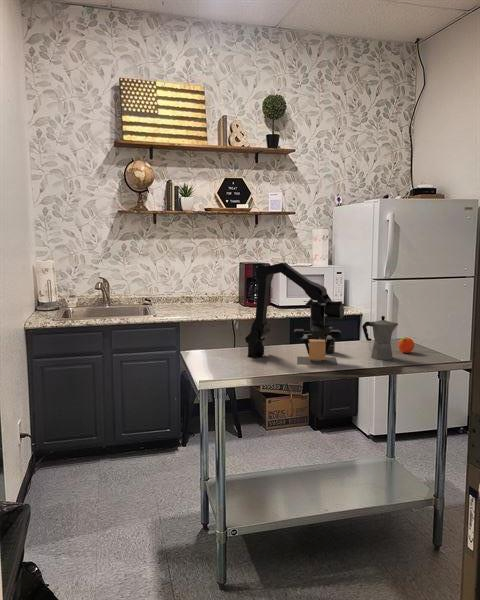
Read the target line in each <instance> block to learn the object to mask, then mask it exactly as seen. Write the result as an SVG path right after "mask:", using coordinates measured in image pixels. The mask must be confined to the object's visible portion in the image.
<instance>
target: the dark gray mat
mask: <svg viewBox="0 0 480 600" xmlns="http://www.w3.org/2000/svg"><path fill="white" fill-rule="evenodd" d="M296 364H297V365H307V366H309V365H310V366H311V365H313V366H314V365H315V366H339V364H338V361H337V358H336V357H334V356H333V357H332V356H325V360H321V362H313V360H309V356H299V355H298V356H297V357H296Z"/></svg>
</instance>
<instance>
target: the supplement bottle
mask: <svg viewBox="0 0 480 600" xmlns="http://www.w3.org/2000/svg"><path fill="white" fill-rule="evenodd" d="M330 330H334V327H333V326H332V327H331V326H329V332H330ZM326 337H327V336H324V338H318V340H325V342H326ZM335 345H336V339H334V341H331V343H330V345H329V347H328V350H327V353H326V355H331V354H335V351H336V350H335V349H336V347H335Z"/></svg>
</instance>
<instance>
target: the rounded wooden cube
mask: <svg viewBox="0 0 480 600" xmlns="http://www.w3.org/2000/svg"><path fill="white" fill-rule="evenodd" d="M308 344H309V355H308V357H309V360H325V357H326V355H325V348H326V342H325V340H319V339H316V338H312V339H308Z"/></svg>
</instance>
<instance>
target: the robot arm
mask: <svg viewBox="0 0 480 600" xmlns="http://www.w3.org/2000/svg"><path fill="white" fill-rule="evenodd" d="M275 274H282V275H283V276H285V277H286V278H288V279H289V280H291V281H292V282H293V283H294V284H296V285H297V286H298V287H300V288H301V289H302V290H303V291H304V293H305V294H306V295H307V297H309V300H308V301H307V302H306V303H305V305H306V306H310V319H309V320H310V321H309V322H310V325H309V326H310V327H309V331H308V330H305V329H304V328H294V330H293V337H294V339H300V340H301V341H302V342H303V343H304V345H305V348H306V351H307V355H308V356H309V339H308V338H309V337H312V339H316V338H318V339H319V338H324V336H327V337H326V348H325V356H326V355H327V354H326V353H327V350H328V347H329V345H330V343H331V341H334V339H335V340H337V339H338V340H340V339H342V332H341V331H340V329H333V330H330V332H329V327H330V325H326V324H325V322H326V320H325V319H326V317H327V318H328V319H344V315H345V307H344V305H343V301H341V300H340V301H339V300H338V301H335V300H332V299H331V297H330V295H329V294H328V291H327V288H326V286H324V285H322V284H320V283H318V282H315V281H312V280H310V279H308V278H307V277H306V276H304V275H303V274H301V273H300V272H298V270H296V269H294V268H293V267H292V266H291V265H289V264H288V263H287V262H278V263H275V264H272V265H271V264H267V263H266V264H259V265H258V266H257V267H256V268H255V280H256V284H257V295H256V306H255V307H256V308H255V317H254V319H253V322H252V324H251V328H250V331H249V332H250V333H248V335H247V336H245V339H244V340H245V342H246V344H247V357H248V358H263V356H264V355H265V344H264V342H265V340H266V337H267V336H269V333H271V325H272V324H271V322H268V320H267V316H268V315H267V314H268V303H269V292H270V291H269V290H270V285H271V284H272V281H273V278H274V275H275Z"/></svg>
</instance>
